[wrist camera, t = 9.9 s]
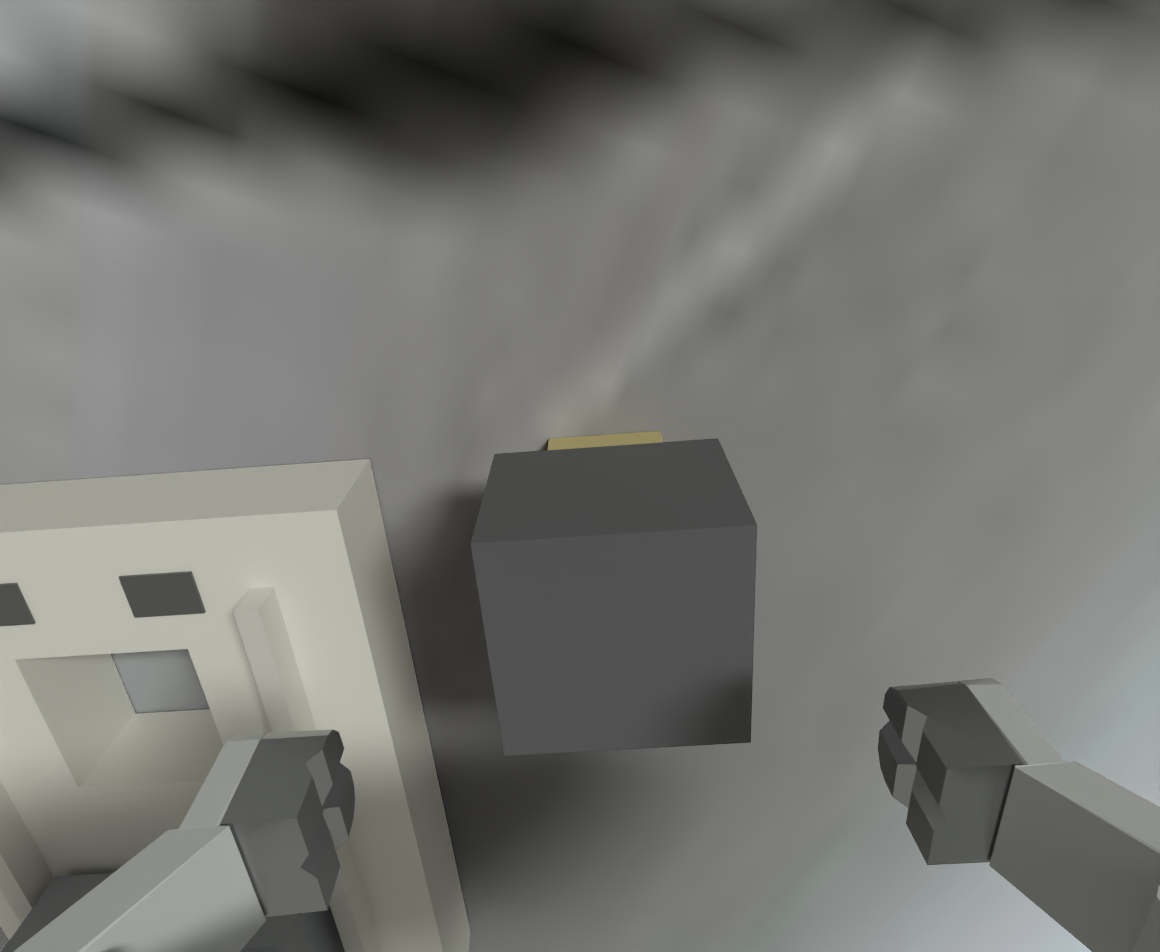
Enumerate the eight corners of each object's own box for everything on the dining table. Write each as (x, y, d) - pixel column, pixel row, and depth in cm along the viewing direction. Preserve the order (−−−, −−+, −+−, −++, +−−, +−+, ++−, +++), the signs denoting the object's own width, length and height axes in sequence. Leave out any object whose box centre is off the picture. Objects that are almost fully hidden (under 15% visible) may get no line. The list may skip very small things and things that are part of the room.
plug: (698, 556, 21) (750, 742, 15) (527, 567, 22) (503, 756, 15) (697, 392, 19) (756, 525, 13) (507, 406, 19) (470, 543, 13)
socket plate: (470, 932, 28) (454, 1049, 25) (116, 950, 29) (49, 1067, 25) (369, 459, 20) (323, 530, 16) (-127, 493, 20) (-280, 571, 17)
